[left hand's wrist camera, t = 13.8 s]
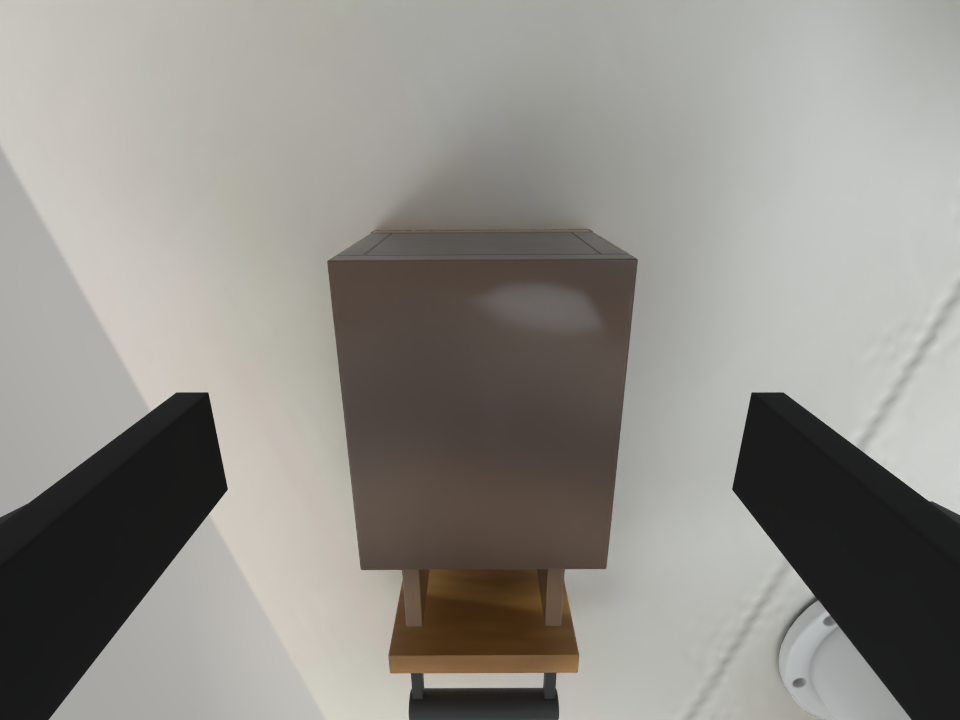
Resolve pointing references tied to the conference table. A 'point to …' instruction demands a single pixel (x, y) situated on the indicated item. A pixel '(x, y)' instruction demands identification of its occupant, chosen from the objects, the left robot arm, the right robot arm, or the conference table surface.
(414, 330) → the cabinet
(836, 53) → the conference table surface
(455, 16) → the conference table surface
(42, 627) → the left robot arm
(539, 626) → the drawer
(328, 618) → the conference table surface
